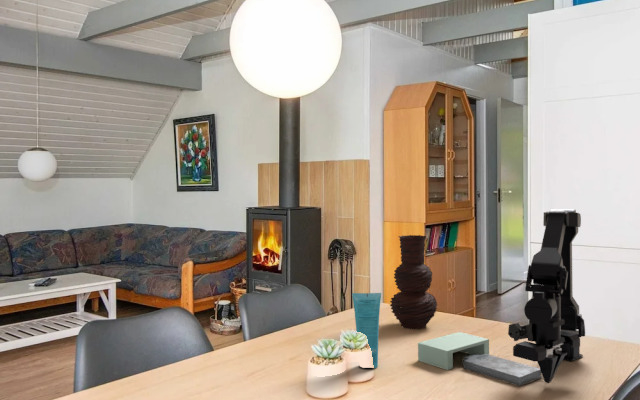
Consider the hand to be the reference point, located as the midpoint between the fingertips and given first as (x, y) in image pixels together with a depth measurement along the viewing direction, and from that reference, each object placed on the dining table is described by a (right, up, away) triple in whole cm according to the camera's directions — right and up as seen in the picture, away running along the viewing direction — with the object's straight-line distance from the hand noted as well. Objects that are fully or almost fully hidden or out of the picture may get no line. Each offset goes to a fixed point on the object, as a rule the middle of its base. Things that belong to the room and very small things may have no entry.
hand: (547, 382), depth 129 cm
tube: (-40, -2, +16) cm, 43 cm away
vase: (-21, 0, +57) cm, 61 cm away
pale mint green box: (-16, -1, +22) cm, 27 cm away
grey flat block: (-7, -1, +10) cm, 12 cm away
